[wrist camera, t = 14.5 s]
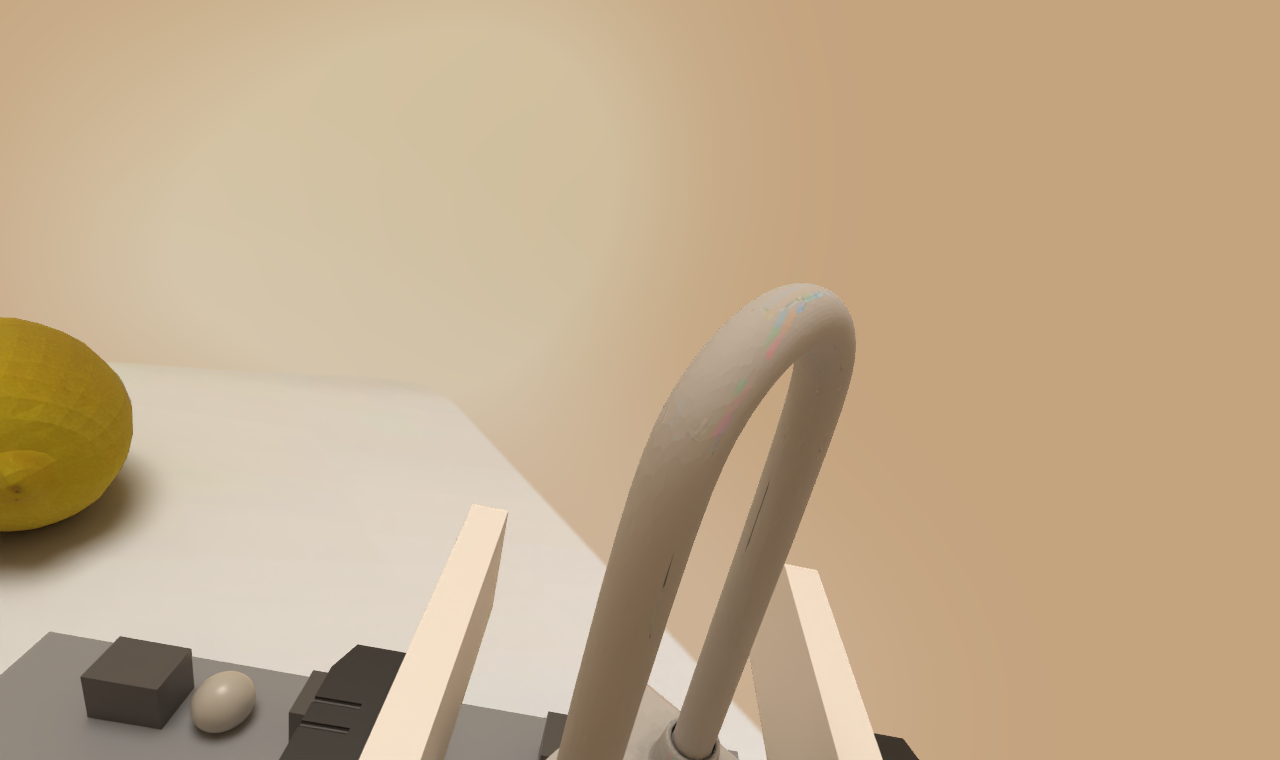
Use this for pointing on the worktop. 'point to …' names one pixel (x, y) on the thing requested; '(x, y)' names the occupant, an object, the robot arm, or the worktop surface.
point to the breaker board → (195, 708)
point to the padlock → (672, 513)
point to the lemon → (56, 425)
